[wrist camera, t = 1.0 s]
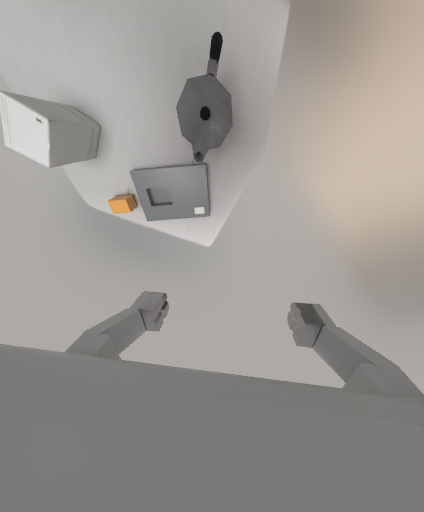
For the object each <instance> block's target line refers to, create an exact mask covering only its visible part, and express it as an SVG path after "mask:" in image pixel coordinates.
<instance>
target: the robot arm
mask: <svg viewBox="0 0 424 512" xmlns="http://www.w3.org/2000/svg"><path fill="white" fill-rule="evenodd" d="M166 299H167V295H166V293H159V292H148V291H144V292H142V294H141V295H140V296H139V297H138V298H137V300H136V301H135V302H134V303H133V305H132V306H131V307H130V308H129V309H125V310H124V311H121V312H120V313H118V314H116V315H114V316H112V317H110V318H109V319H107V320H105V321H103V322H101V323H99V324H98V325H96V326H94V327H92V328H90V329H88V330H86V331H85V332H84V333H83V334H82V335H81V336H80V337H79V338H78V339H77V340H76V341H75V342H74V343H73V344H72V345H71V346H70V347H69V348H68V349H67V350H66V351H65V352H56V351H49V350H40V349H33V348H26V347H18V346H11V345H4V344H0V512H424V394H423V393H422V392H421V391H420V390H419V389H418V388H417V387H416V386H415V384H414V383H413V382H412V381H411V380H410V379H409V378H408V376H407V375H406V374H405V373H404V372H403V371H402V370H401V369H400V368H399V366H397V365H396V364H394V363H393V362H391V361H390V360H388V359H387V358H385V357H384V356H382V355H380V354H379V353H378V352H376V351H374V350H373V349H372V348H370V347H369V346H367V345H366V344H364V343H363V342H361V341H360V340H358V339H357V338H355V337H353V336H352V335H351V334H349V333H348V332H346V331H345V330H343V329H342V328H340V327H336V325H335V324H334V322H333V321H332V320H331V318H330V317H329V316H328V314H327V313H326V312H325V310H324V309H323V307H322V306H321V305H320V304H306V303H292V304H291V306H290V308H291V311H290V312H289V313H288V325H289V327H290V329H291V330H292V331H293V338H294V340H295V342H296V345H297V346H303V347H310V348H313V349H314V351H315V352H316V353H317V354H318V355H319V356H320V357H321V358H322V359H323V360H324V361H325V362H326V363H327V364H328V365H329V366H330V367H331V368H332V369H333V370H334V371H335V372H336V373H337V374H338V375H339V376H340V377H341V378H342V379H343V380H344V382H345V383H346V384H345V385H344V387H343V388H334V387H326V386H318V385H311V384H303V383H295V382H288V381H280V380H272V379H264V378H257V377H248V376H241V375H233V374H226V373H218V372H210V371H202V370H194V369H187V368H178V367H171V366H163V365H156V364H148V363H141V362H133V361H125V360H121V358H120V356H119V354H120V353H121V352H122V351H123V350H124V349H125V348H127V347H128V346H129V345H130V344H132V343H133V342H134V341H135V340H136V339H137V338H139V337H140V336H141V335H142V334H143V333H144V332H146V330H148V331H159V330H160V328H161V326H162V324H163V319H164V318H165V317H166V316H167V313H168V309H169V305H168V302H167V301H166Z"/></svg>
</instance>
